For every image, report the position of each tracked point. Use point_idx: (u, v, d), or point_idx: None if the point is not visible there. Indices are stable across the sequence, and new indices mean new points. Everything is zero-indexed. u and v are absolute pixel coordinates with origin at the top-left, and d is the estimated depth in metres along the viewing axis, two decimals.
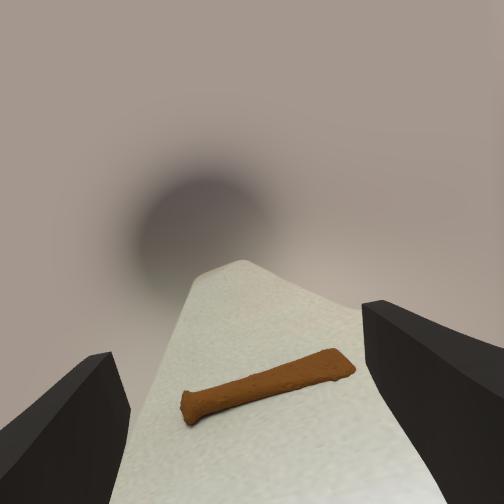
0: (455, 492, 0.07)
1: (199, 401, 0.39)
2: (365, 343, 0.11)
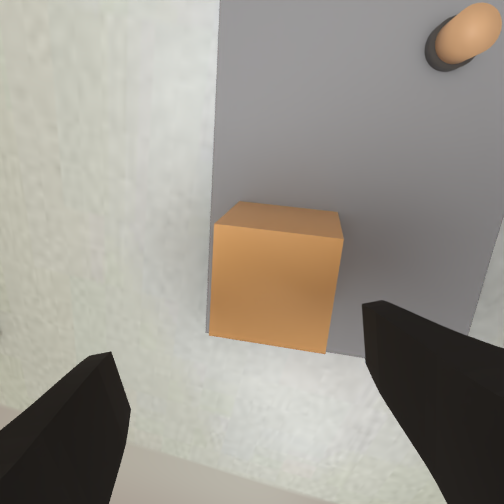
0: (455, 492, 0.07)
1: None
2: (365, 343, 0.11)
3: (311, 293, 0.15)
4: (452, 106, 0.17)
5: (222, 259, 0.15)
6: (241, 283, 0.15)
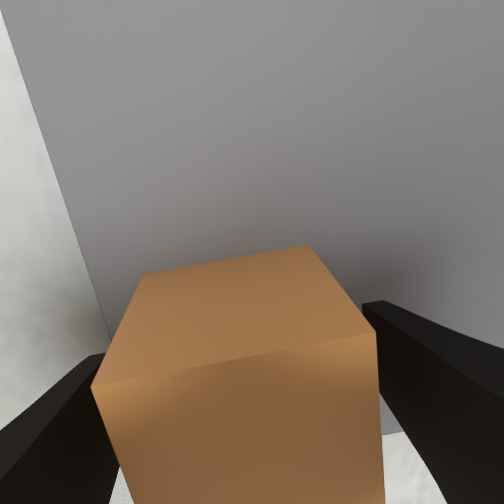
0: (455, 492, 0.07)
1: None
2: None
3: (336, 444, 0.07)
4: (446, 25, 0.10)
5: (136, 445, 0.07)
6: (192, 473, 0.07)
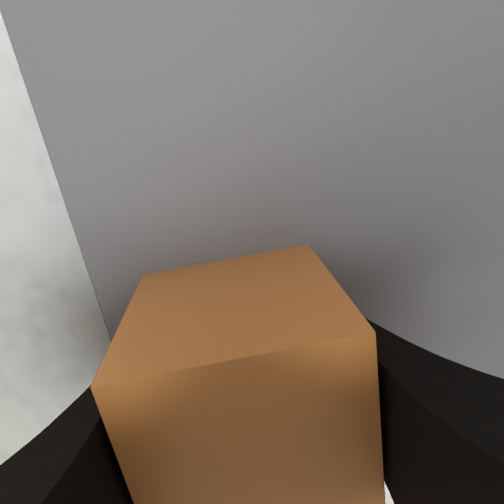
0: (403, 503, 0.07)
1: None
2: None
3: (336, 444, 0.07)
4: (446, 25, 0.10)
5: (136, 446, 0.07)
6: (192, 473, 0.07)
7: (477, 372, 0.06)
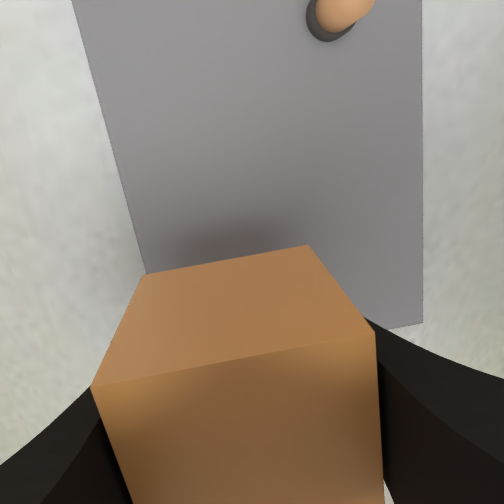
0: (403, 503, 0.07)
1: None
2: None
3: (335, 445, 0.07)
4: (348, 73, 0.16)
5: (136, 446, 0.07)
6: (192, 473, 0.07)
7: (477, 371, 0.06)
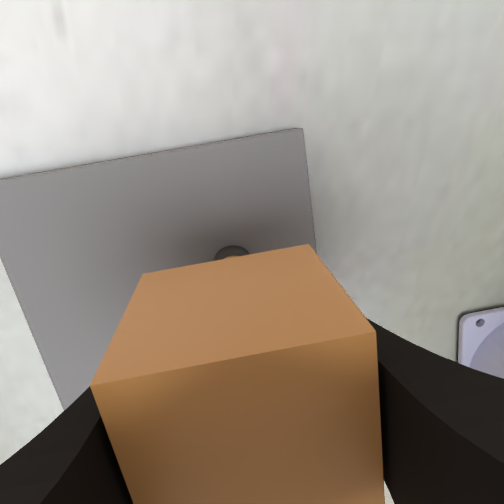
0: (404, 503, 0.07)
1: None
2: None
3: (336, 444, 0.07)
4: None
5: (136, 445, 0.07)
6: (192, 472, 0.07)
7: (478, 371, 0.06)
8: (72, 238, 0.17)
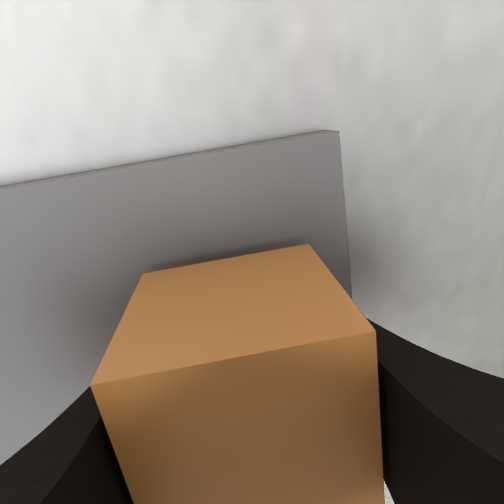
0: (403, 503, 0.07)
1: None
2: None
3: (336, 443, 0.07)
4: None
5: (136, 444, 0.07)
6: (192, 472, 0.07)
7: (477, 371, 0.06)
8: (14, 284, 0.12)
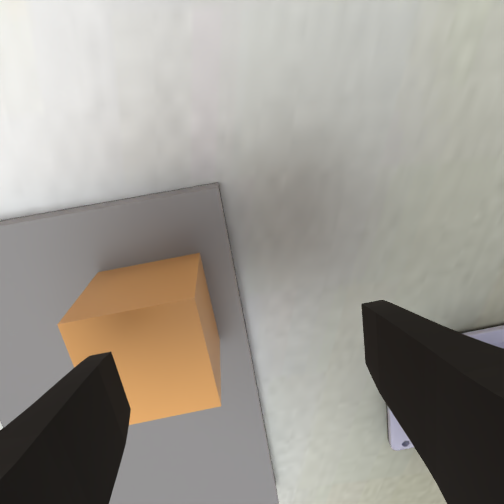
0: (455, 492, 0.07)
1: None
2: (365, 343, 0.11)
3: (184, 357, 0.14)
4: None
5: (81, 355, 0.14)
6: None
7: None
8: (8, 286, 0.18)
